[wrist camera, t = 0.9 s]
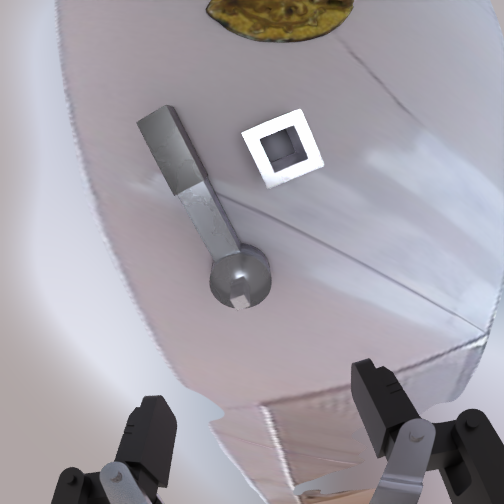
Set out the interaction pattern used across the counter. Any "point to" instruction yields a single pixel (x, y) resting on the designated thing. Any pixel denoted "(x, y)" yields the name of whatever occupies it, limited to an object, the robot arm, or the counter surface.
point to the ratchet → (206, 213)
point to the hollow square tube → (292, 164)
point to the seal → (280, 18)
